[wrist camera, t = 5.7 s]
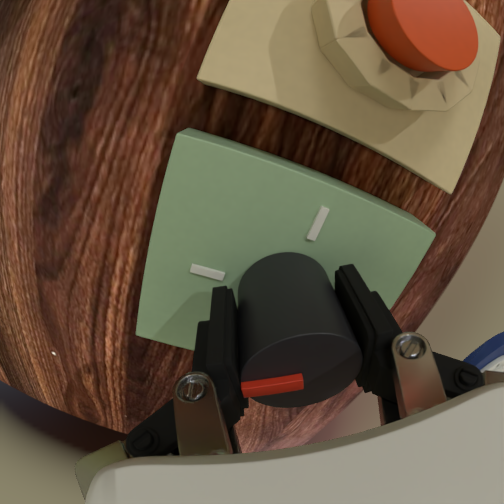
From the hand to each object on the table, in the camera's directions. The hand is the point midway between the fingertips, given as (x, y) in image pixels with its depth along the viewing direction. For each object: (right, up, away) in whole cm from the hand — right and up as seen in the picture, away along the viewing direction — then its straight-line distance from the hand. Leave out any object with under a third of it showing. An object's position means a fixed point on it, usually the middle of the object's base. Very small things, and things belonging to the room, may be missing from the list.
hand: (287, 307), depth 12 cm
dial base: (0, +2, +3) cm, 4 cm away
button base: (+4, +12, -2) cm, 13 cm away
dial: (0, 0, +1) cm, 1 cm away
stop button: (+4, +10, -5) cm, 12 cm away
